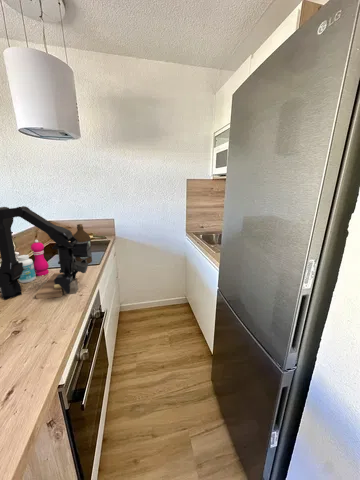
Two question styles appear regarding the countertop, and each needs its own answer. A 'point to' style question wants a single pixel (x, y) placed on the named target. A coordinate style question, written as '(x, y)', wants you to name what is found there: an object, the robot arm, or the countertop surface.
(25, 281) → the pill bottle
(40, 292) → the plank
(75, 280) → the grey and beige block
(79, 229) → the olive oil
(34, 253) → the pepper mill
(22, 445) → the countertop surface
